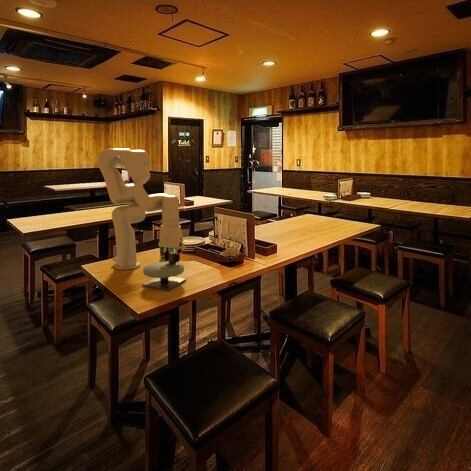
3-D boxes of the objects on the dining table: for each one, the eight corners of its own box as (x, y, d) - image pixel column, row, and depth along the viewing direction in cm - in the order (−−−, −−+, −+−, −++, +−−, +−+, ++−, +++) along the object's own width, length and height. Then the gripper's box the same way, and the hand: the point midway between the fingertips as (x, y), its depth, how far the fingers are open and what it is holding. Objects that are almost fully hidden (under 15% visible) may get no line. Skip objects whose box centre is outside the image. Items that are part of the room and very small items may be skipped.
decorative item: (237, 250, 206) (242, 247, 197) (237, 265, 204) (242, 263, 195) (216, 249, 203) (221, 245, 194) (216, 264, 201) (220, 262, 192)
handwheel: (169, 280, 153) (168, 265, 152) (134, 274, 160) (133, 260, 159) (191, 267, 169) (191, 254, 168) (159, 263, 176) (158, 250, 175)
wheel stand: (142, 286, 163) (141, 274, 161) (160, 276, 175) (160, 265, 174) (168, 291, 157) (168, 278, 156) (185, 280, 170) (185, 269, 168)
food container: (168, 260, 201) (168, 242, 199) (159, 259, 203) (158, 241, 201) (179, 254, 212) (179, 237, 210) (170, 253, 214) (169, 236, 212)
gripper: (150, 222, 166) (152, 261, 170) (182, 225, 160) (183, 265, 164) (160, 219, 173) (161, 256, 177) (191, 222, 166) (192, 261, 170)
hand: (172, 260), depth 170 cm, fingers open, 4 cm apart
